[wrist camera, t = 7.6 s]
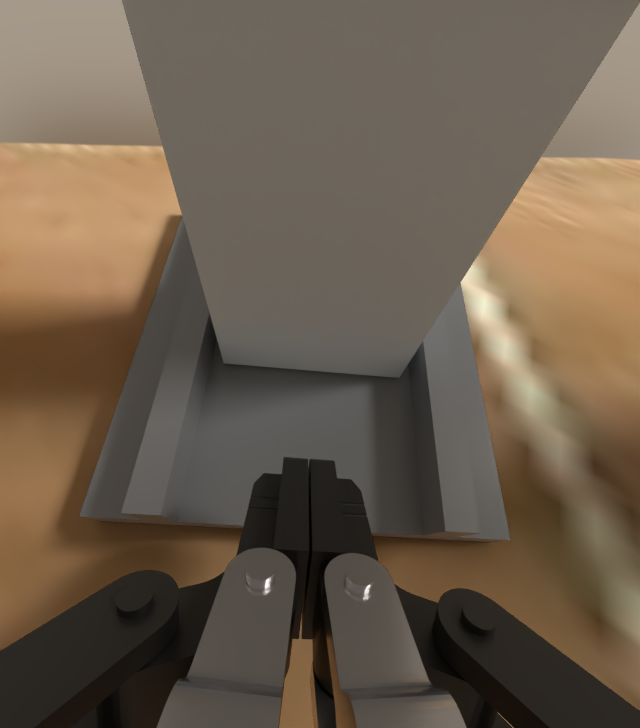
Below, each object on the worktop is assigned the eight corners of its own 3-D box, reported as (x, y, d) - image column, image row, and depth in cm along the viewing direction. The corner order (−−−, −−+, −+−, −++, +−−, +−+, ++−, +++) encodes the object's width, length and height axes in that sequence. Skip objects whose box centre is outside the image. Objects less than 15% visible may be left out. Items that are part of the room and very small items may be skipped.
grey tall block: (396, 291, 19) (608, -205, 7) (403, 382, 16) (773, -160, 4) (237, 275, 19) (152, -294, 6) (218, 366, 16) (8, -307, 4)
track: (439, 241, 24) (470, 177, 20) (490, 542, 15) (564, 534, 11) (195, 214, 23) (177, 142, 19) (97, 520, 14) (27, 504, 10)
